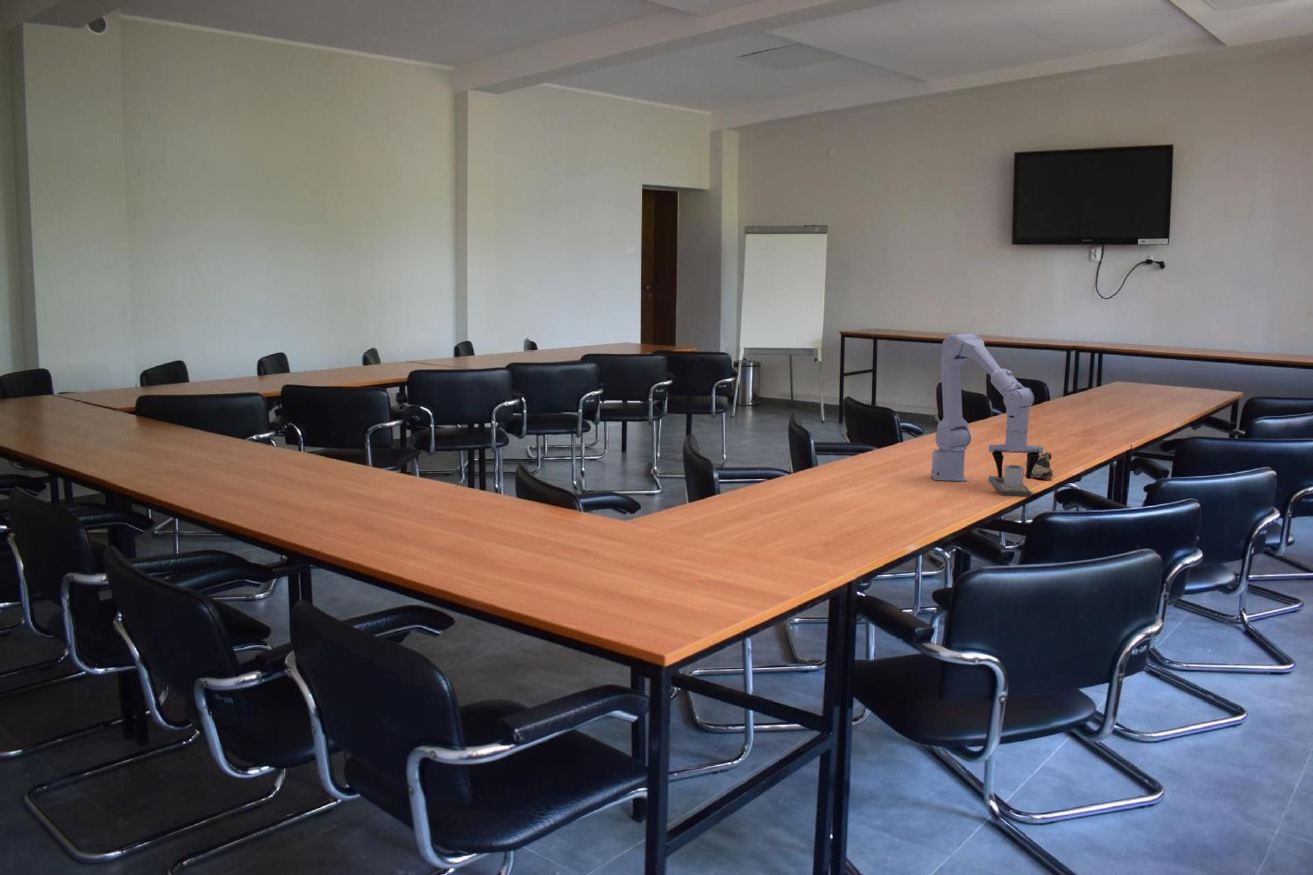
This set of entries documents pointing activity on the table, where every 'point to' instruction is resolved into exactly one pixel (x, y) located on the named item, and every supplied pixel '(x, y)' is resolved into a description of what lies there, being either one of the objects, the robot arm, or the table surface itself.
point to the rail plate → (1008, 492)
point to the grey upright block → (1013, 477)
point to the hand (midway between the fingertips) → (1013, 477)
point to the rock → (1042, 467)
